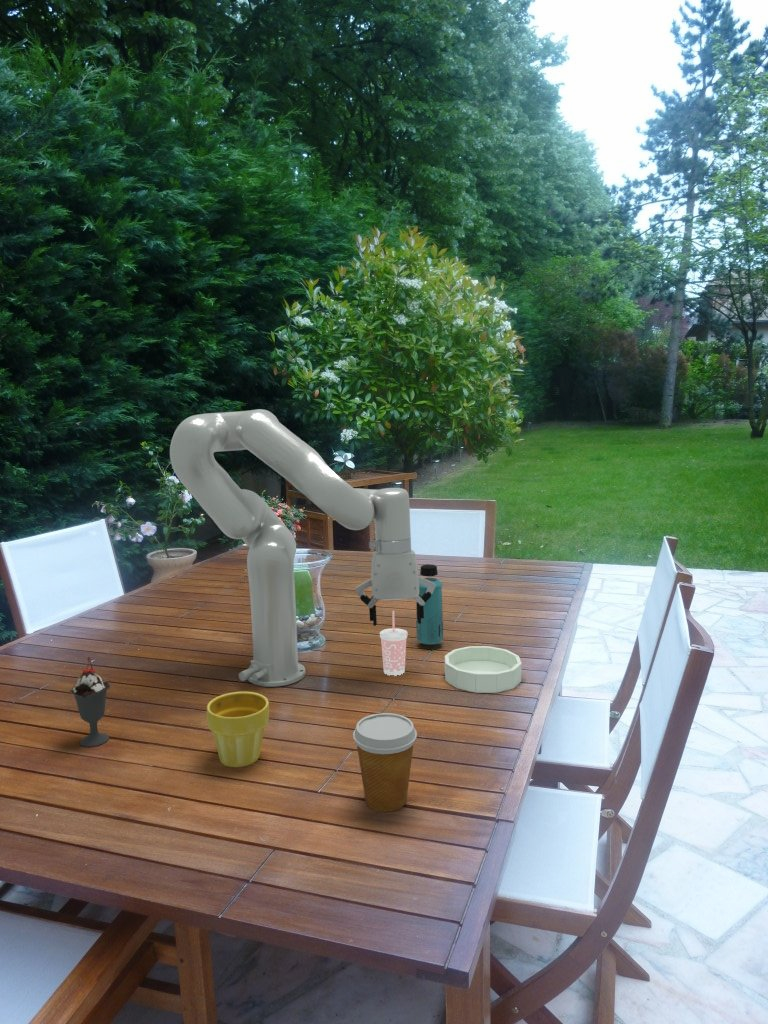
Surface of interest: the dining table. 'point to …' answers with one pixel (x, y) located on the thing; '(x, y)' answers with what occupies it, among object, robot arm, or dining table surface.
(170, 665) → the dining table surface
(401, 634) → the beverage cup
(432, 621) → the beverage bottle
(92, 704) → the sundae
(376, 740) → the disposable coffee cup
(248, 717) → the plant pot
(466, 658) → the bowl
